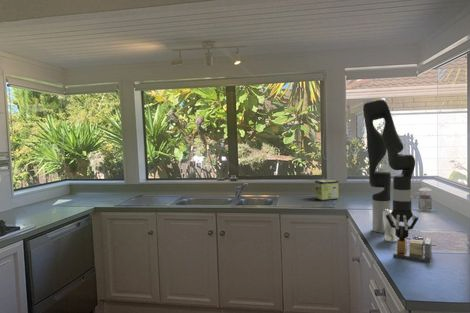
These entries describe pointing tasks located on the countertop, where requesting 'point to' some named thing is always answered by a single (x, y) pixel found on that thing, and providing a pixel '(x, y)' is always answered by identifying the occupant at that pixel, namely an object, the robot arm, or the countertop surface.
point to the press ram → (401, 240)
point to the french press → (424, 198)
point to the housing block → (416, 247)
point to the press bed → (407, 255)
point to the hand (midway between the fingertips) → (402, 237)
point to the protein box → (326, 190)
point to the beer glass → (389, 227)
